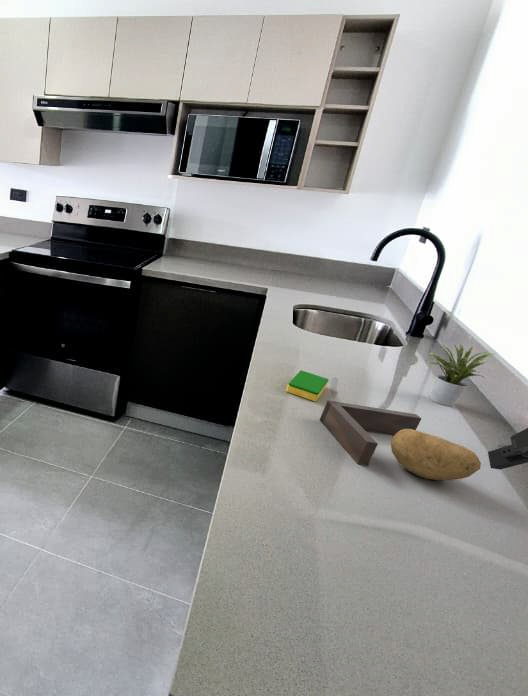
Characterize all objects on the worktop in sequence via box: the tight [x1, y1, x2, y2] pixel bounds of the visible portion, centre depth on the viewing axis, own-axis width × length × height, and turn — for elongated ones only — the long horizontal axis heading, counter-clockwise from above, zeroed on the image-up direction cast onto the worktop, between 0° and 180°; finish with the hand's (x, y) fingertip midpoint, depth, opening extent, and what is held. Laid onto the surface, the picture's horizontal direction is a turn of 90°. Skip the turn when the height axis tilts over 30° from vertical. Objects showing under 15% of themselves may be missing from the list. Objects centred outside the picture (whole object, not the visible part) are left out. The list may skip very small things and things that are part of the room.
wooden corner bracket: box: [319, 399, 422, 466], centre depth 103 cm, size 20×18×5 cm
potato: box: [390, 429, 482, 481], centre depth 94 cm, size 10×14×8 cm
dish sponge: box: [285, 369, 330, 402], centre depth 128 cm, size 7×14×2 cm, turn 143°
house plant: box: [426, 341, 495, 407], centre depth 131 cm, size 14×14×16 cm
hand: (493, 460), depth 81 cm, fingers closed
